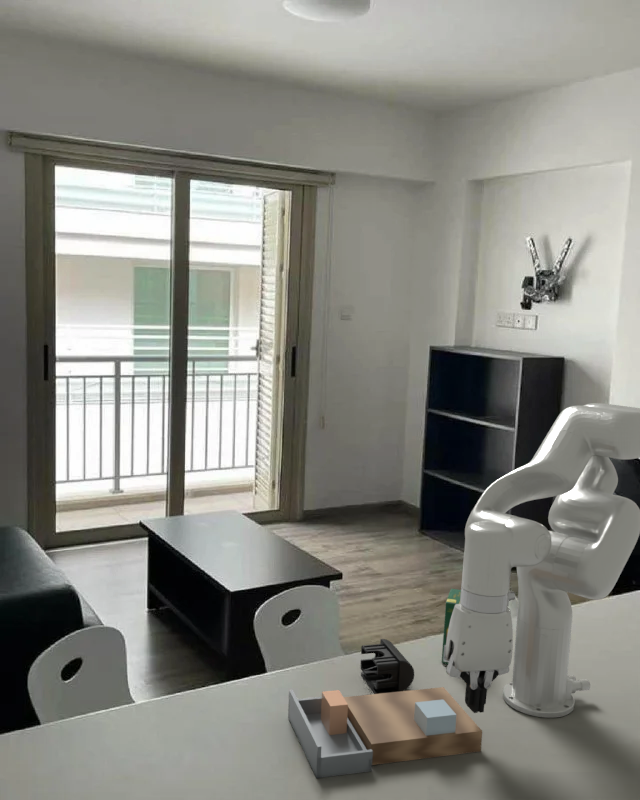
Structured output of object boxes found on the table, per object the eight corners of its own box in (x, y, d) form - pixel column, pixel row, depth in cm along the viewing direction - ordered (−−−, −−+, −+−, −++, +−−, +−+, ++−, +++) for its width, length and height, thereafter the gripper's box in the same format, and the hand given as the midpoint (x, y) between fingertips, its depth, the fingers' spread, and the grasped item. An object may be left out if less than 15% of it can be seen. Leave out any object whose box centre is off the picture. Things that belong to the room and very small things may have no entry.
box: (337, 712, 142) (338, 685, 142) (371, 771, 125) (373, 740, 124) (288, 717, 140) (289, 689, 139) (316, 778, 123) (317, 746, 122)
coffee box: (455, 667, 162) (459, 603, 160) (440, 664, 162) (444, 601, 161) (460, 650, 169) (464, 589, 168) (446, 648, 170) (450, 587, 168)
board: (442, 705, 146) (443, 687, 146) (480, 751, 132) (482, 730, 131) (341, 716, 141) (342, 697, 140) (370, 765, 127) (371, 744, 126)
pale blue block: (442, 716, 135) (443, 699, 135) (455, 732, 130) (456, 714, 130) (414, 719, 134) (415, 702, 134) (426, 735, 129) (427, 717, 129)
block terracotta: (339, 690, 139) (322, 691, 138) (347, 704, 134) (330, 706, 133) (337, 717, 139) (320, 719, 139) (346, 733, 135) (329, 735, 134)
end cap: (413, 694, 150) (415, 659, 149) (377, 698, 148) (379, 663, 147) (393, 670, 159) (395, 637, 159) (359, 673, 157) (360, 640, 156)
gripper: (514, 590, 137) (504, 695, 139) (431, 593, 133) (423, 701, 135) (537, 606, 130) (527, 716, 132) (451, 610, 126) (442, 723, 128)
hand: (474, 708), depth 133 cm, fingers closed
